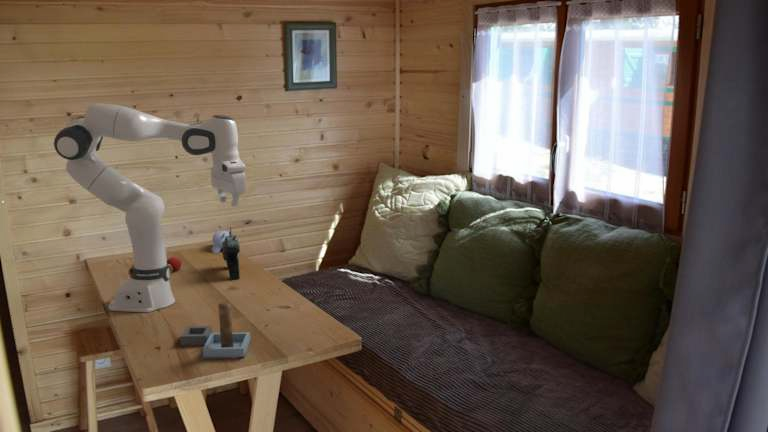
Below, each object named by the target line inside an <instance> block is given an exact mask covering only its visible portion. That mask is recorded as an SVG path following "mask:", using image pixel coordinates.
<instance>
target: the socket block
mask: <svg viewBox="0 0 768 432" xmlns="http://www.w3.org/2000/svg"><path fill="white" fill-rule="evenodd" d="M211 333H213V325H194V326H193V325H192V326H190V325H189V326H186V327H185V329H184V330H183V332H182V333H181V334H180V337H179V338H180V346H181V347H182V346H205V344H206V342H207V340H208V338H209V336H210V334H211Z"/></svg>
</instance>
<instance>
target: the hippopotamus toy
mask: <svg viewBox="0 0 768 432" xmlns="http://www.w3.org/2000/svg"><path fill="white" fill-rule="evenodd" d="M229 232H230V231H227V230H219V231H215V232H214V234H213V235H212V243H213V246H212V247H211V248H210V250H211V251H212V254H218V253H220V252H221V250H222V249H223V245H222V243H223V241H225V237H226V236H229Z"/></svg>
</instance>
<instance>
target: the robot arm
mask: <svg viewBox="0 0 768 432" xmlns="http://www.w3.org/2000/svg"><path fill="white" fill-rule="evenodd" d="M105 137H106V138H111V139H114V140H119V141H125V142H140V141H145V140H149V139H150V140H151V139H157V138H158V139H159V138H162V139H169V140H172V141H180V142H181V145H182V148H183V149H184V150H185V152H186V153H188V154H190V155H193V156H202V155H205V154H209V153H211V155H212V166H211V169H210V183H211V186H212V188H215V189H217V193H218V197H219V202H221V203H225V202H227V196H226V193H228V194H231V197H232V200H231V203H230V205H231V206H232V207H233V208H234V207H239V199H240V196H241V195H244V194H245V193H246V189H247V187H246V186H247V185H246V182H247V181H246V173H245V172H246V171H247V167H246V164H245V163H244V162H243V161H242V159H241V158H240V152H239V150H238V149H239V148H238V145H239V135H238V127H237V123H236V120H235V119H234V118H232V117H230V116H228V115H221V114H220V115H219V114H215V115H212V116H211V117H210V118H208V119H206V120H205V121H201V122H196V123H186V122H180V121H175V120H170V119H165V118H160V117H158V116H155V115H151V114H148V113H146V112H143V111H141V110H138V109H134V108H131V107H127V106H124V105H118V104H111V103H102V102H101V103H98V102H96V103H92V104H90V105H89V106H88V107H87V108H86V110H85V113H84V115H83V116H80V117H78V118H76V119H74V120H73V121H71V122H69V123H67V124H66V125H65V127H64V128H62V129H61V130H59V132H58V133H57V134H56V135H55V137H54V141H53V146H54V150H55V152H56V153H57V154H58V155H59V157H61V158H63V159H65V160H67V161H66V165H65V171H66V173H68V175H69V176H70V177H71V178H72V179H73V180H74V182H75V181H76V183H77V184H78V185H80V186H81V188H83V189H85V191H87V192H89V193H90V194H92V195H93V196H94V197H96V198H97V199H98V200H100V201H101V202H103V204H105V205H107V206H111V207H114V208H116V209H118V210H120V211H122V212H123V213H125V217H124V218H125V223H126V226H127V230H128V231H127V232H128V234H129V239H130V243H131V248H132V255H133V264H132V265H131V266H130V268H129V269H128V271H127V273H128V274H127V275H129V277H128V278H127V279H126V280H125V281H123V282H122V283H121V284H119V286H118V287H117V289H116V290H115V293H114V294H115V295H114V299H112V300H111V301H110V302H109V303H108V311H112V312H128V313H129V312H133V313H150V312H153V311H155V310H159V309H163V308H167V307H169V306H171V305H174V303H175V302H176V298H175V296H174V294H173V291H172V287H171V283H170V276H171V274H170V273H169V266H168V263H167V260H168V257H167V250H166V241H165V239H164V236H163V230H162V225H161V222H162V218H163V216H164V214H165V203H164V200H163V199H162V197H161V196H159V195H158V194H156V193H153V192H151V191H150V190H148V189H146V188H144V187H142V186H141V185H139V184H136V183H135V182H133V181H131V180H130V179H128V178H127V177H126V176H124V175H122V174H121V173H120V172H119V171H117V170H116V169H114V168H113V167H111V166H110V165H109V164H107V163H106V162H104V161H103V160H102V159H101V158H100V157H98V154H97V152H98V151H99V149H100V147H101V144H102V141H103V139H104V138H105ZM225 192H226V193H225Z"/></svg>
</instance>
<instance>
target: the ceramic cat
mask: <svg viewBox="0 0 768 432" xmlns="http://www.w3.org/2000/svg"><path fill="white" fill-rule="evenodd" d="M229 229H230V230H229V231H228V232H229V236H226V237H225V241H223V243H222V245H223V247H222V257H223V260H224V261H225V263H226V266H227V267H226V269H227V268H228V269H229V270H228V269H227V270H228V276H229V279H230V281H237V280H238V279H239V280H240V259H239V253H240V252H241V248H240V243H239V237H236V236H237V234H234V235H233V234H232V226H230V227H229Z"/></svg>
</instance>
